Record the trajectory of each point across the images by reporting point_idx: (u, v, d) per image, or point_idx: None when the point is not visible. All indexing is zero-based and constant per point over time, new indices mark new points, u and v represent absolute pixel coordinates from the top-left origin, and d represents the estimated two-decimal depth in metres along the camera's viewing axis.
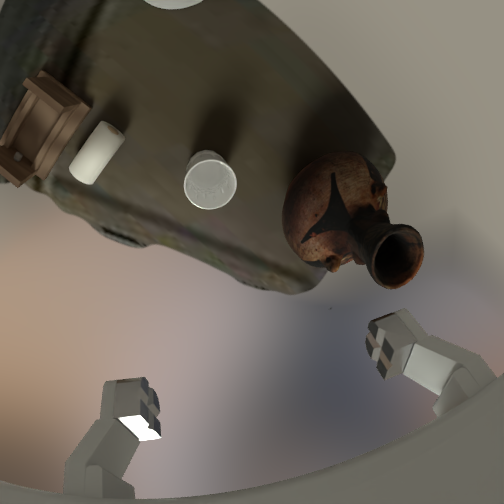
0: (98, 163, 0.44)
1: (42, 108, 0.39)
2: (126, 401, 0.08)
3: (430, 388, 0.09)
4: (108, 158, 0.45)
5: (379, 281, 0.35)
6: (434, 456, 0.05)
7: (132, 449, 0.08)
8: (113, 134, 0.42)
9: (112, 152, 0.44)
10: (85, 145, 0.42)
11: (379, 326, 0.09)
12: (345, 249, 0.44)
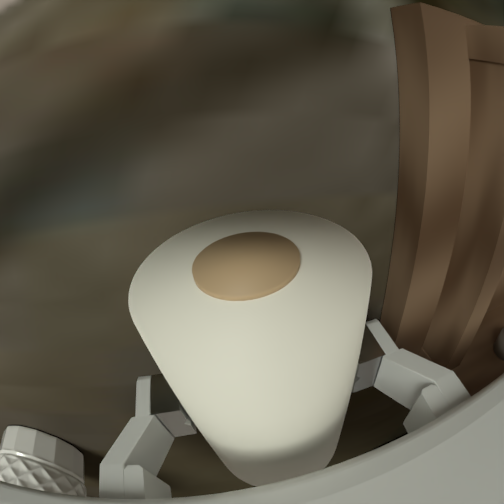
0: (230, 448, 0.07)
1: None
2: (163, 396, 0.08)
3: (402, 402, 0.09)
4: (206, 438, 0.09)
5: None
6: (434, 456, 0.05)
7: (167, 446, 0.08)
8: None
9: (217, 453, 0.09)
10: (347, 404, 0.09)
11: None
12: None
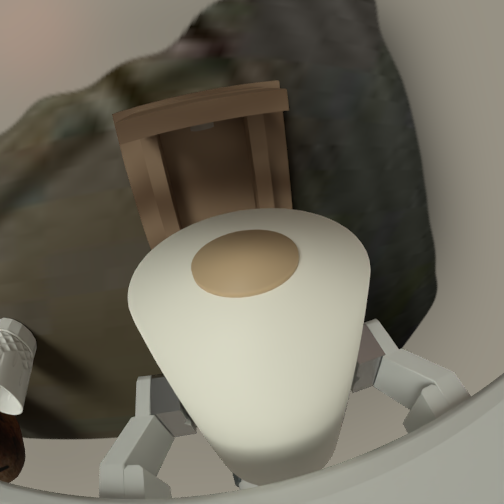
0: (228, 445, 0.07)
1: None
2: (163, 396, 0.08)
3: (402, 402, 0.09)
4: (205, 436, 0.09)
5: None
6: (434, 456, 0.05)
7: (166, 446, 0.08)
8: None
9: (216, 451, 0.09)
10: (346, 403, 0.09)
11: None
12: None
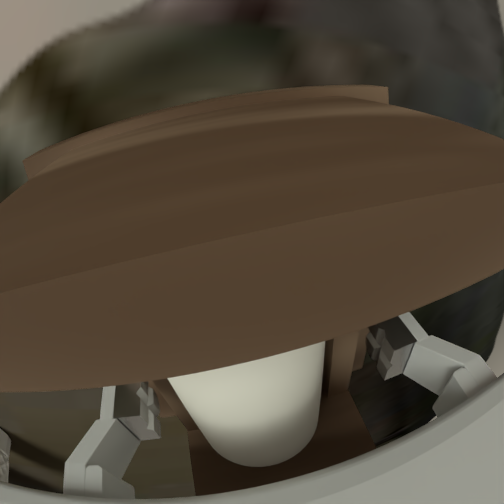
0: (191, 407, 0.08)
1: None
2: (126, 401, 0.08)
3: (430, 388, 0.09)
4: None
5: None
6: (434, 456, 0.05)
7: (132, 449, 0.08)
8: None
9: None
10: (313, 393, 0.09)
11: (379, 326, 0.09)
12: None
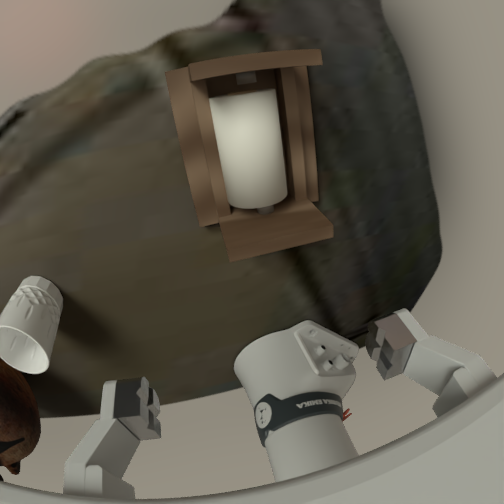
0: (229, 150, 0.23)
1: None
2: (126, 401, 0.08)
3: (430, 388, 0.09)
4: (222, 163, 0.25)
5: None
6: (434, 456, 0.05)
7: (132, 449, 0.08)
8: None
9: (225, 177, 0.26)
10: (277, 151, 0.24)
11: (379, 326, 0.09)
12: None
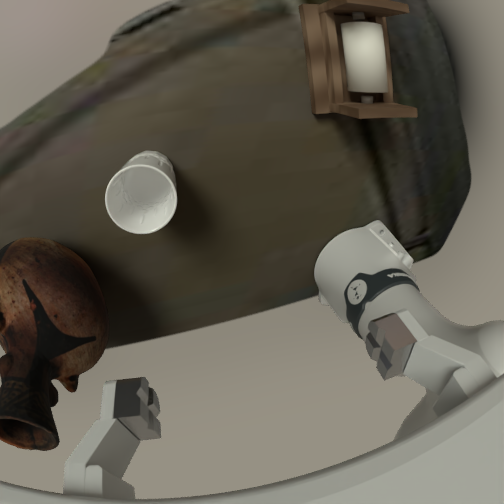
0: (364, 53, 0.29)
1: None
2: (126, 401, 0.08)
3: (430, 388, 0.09)
4: (355, 63, 0.31)
5: None
6: (434, 456, 0.05)
7: (132, 449, 0.08)
8: None
9: (357, 72, 0.31)
10: (385, 61, 0.31)
11: (379, 326, 0.09)
12: (12, 342, 0.25)
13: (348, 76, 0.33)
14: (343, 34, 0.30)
